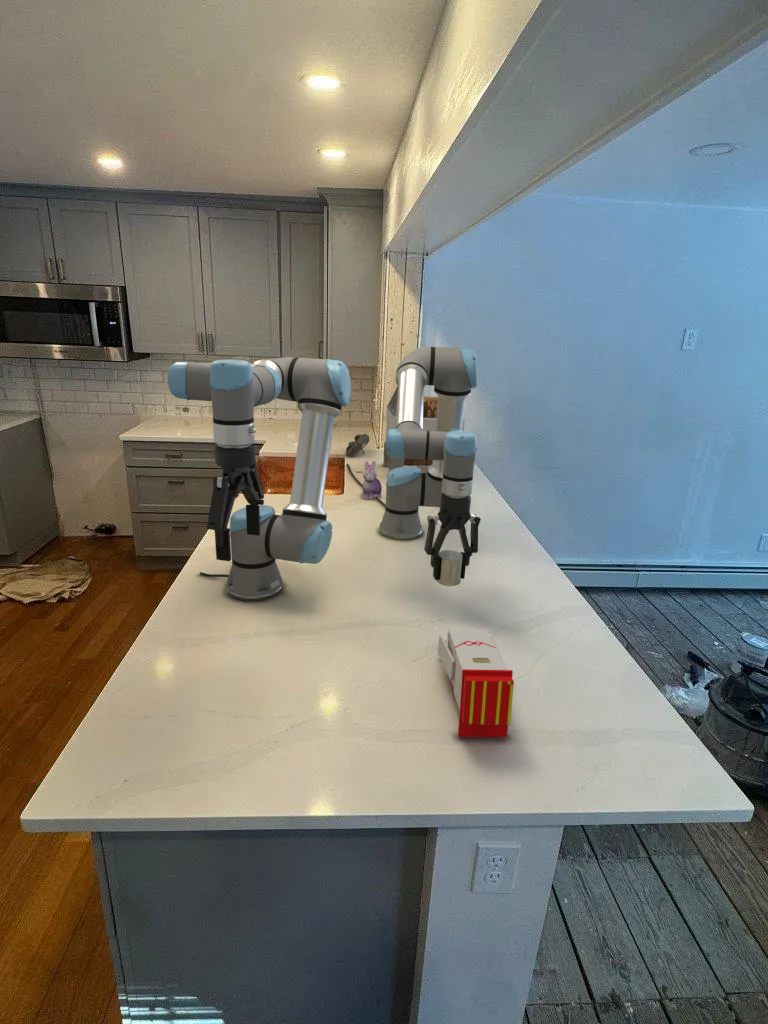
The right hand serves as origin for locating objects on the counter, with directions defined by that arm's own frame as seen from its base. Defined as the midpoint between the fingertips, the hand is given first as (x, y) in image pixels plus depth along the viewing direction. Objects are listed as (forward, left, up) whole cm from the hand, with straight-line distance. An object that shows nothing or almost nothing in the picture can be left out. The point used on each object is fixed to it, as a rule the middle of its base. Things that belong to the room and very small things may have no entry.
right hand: (448, 577), depth 149 cm
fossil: (-146, +84, -9) cm, 168 cm away
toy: (+28, -22, -9) cm, 37 cm away
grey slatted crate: (-99, +85, -9) cm, 131 cm away
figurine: (-84, +43, -9) cm, 95 cm away
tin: (0, 0, -1) cm, 1 cm away
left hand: (-9, -55, +19) cm, 58 cm away
